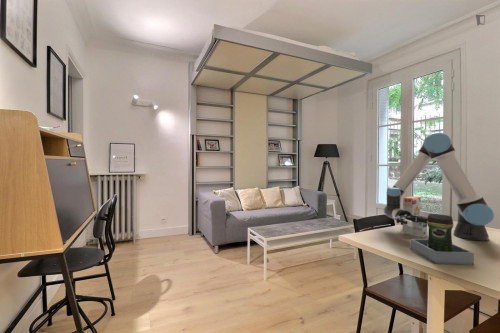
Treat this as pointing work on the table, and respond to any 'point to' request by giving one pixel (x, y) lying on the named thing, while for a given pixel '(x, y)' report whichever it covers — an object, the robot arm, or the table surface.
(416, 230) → the light bulb box
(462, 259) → the tray
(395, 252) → the table surface
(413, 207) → the cracker box
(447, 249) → the coffee jar
